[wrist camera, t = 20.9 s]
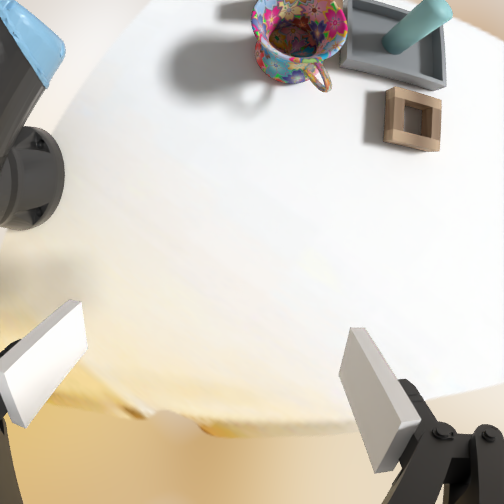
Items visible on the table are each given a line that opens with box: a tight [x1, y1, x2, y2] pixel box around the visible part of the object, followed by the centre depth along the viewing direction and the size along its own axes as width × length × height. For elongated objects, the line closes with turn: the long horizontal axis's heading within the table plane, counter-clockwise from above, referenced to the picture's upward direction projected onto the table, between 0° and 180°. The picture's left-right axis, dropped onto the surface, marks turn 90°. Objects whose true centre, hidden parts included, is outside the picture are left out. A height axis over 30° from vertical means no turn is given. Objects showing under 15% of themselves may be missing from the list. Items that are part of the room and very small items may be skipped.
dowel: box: [382, 0, 453, 55], centre depth 27 cm, size 3×3×13 cm
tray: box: [340, 0, 446, 91], centre depth 32 cm, size 14×10×4 cm
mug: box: [251, 0, 348, 92], centre depth 30 cm, size 12×9×11 cm
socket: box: [383, 86, 442, 152], centre depth 35 cm, size 7×7×3 cm
